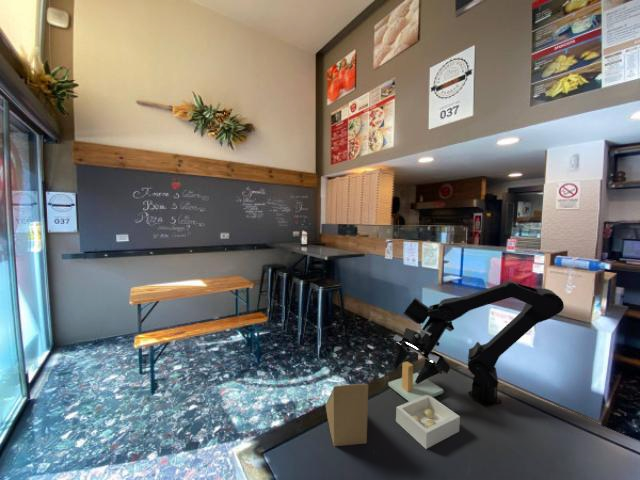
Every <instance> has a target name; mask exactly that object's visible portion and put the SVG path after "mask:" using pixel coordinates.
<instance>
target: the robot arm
mask: <svg viewBox="0 0 640 480" xmlns="http://www.w3.org/2000/svg"><path fill="white" fill-rule="evenodd" d="M509 298H514V299H516V300H518V301H521V302H523V303H525V304H524V306H523V308H522V310H521V311H520V312H519V313H518V314H517V315H516V316H515V317H514V318H513V319H512V320H511V321H509V323H507V324H506V325H505V326H504V327H503V328H502V329H501V330H500V331H499V332H498V333H497V334H496V335H494V336H493V338H491V339H490V340H489V341H488V342H486V343H484V344H481V343H480V342H479V341H477V342H476V343H475V345H474V346H473V347H471V348H468V355H467V368H468V371H469V372H470V374H472V375H474V376H473V377H472V382H471V390H469V391H468V392H467V394H468V395H469V396H471V397H472V398H473V399H475V400H476V401H477V402H478V403H480V404H481V405H483V406H484V407H489V406H493V405H497V404H502V403H503V401H502V399H501V398H499V397H498V388H499V387H498V386H499V378H498V372H497V367H495V366H496V365H497V362H498V360H499V358H500V357H502V355H503V354H504V353H505V352H506V351H508V350H509V349H510V348H511V347H512V346H513V345H514V344H515V343H517V342H518V341H519V340H520V339H521V338H522V337H523V336H525V334H527V333H528V332H529V331H530V330H531V329H532V328H534V327H535V326H536V325H537V324H539V323H542V322H545V321H549V320H550V319H551V318H554V317H555V316H557V315H558V314H560V313H561V312H562V311H563V310H564V308H565V306H564V301H563V299H562V298H561V296H559V295H558V294H557V293H555V292H554V291H553V290H550V289H549V288H536V287H532V286H529V285H525V284H521V283H517V282H515V281H513V280H507V281H504V282H502V283H500V284H497V285H494V286H491V287H489V288H486V289H484V290H483V289H482V290H480V291H477V292H474V293H471V294H467V295H466V296H456V297H449V298H444V299H442V300H440V302H439V303H435V304H432V305H429V306H428V305H426V304H424V303H422V302H421V301H420V300H419V299H417V298H416V297H414V298H413V300H412V302H411V303H409V304H408V306H407V307H406V309H405V311H404V312H403V316H406V317H407V318H408V319H410V320H411V321H412V322H414V323H415V324H417V325H423V324H424V323H425V324H424V326H422V329H421V328H420V327H419V328H418V329H417V330H414V329H410V328H408V327H405V330H404V331H403V335H402V334H400V333H396V334H394V336H393V338H392V340H393V343H394V345H395V348H396V350H395V356H394V361H393V365H392V368H393V369H397V368H398V367H399V366H400V365H402V363H404V361H405V359H407V357H408V356H409V354H410V353H409V352H411V351H412V352H414V353H416V354H417V355H419V356H421V357H422V358H424V365H423V367H422V368H421V369H420V371H419V373H418V374H419V375H418V376H417V378H416V381H415V382H416V383H417V384H419V383H421V382H422V381H424V380H426V379H428V380H429V378H431V377H433V376H435V375H438V374H440V375H442V374H443V373H444V374H446V375H447V374H448V373H449V371H450V369H451V366H450V363H449V362H448V361H447V359H446V358H445V357H444V356H443V355H440V354H438V353H437V352H435V351H433V350H434V349H435V347H439V346H440V342H439V340H440V339H441V338H442V336H443V334H444V332H445V331H446V330H447V331H448V332H452V331H454V330H455V327H454V325H453V321H455V320H458V319H459V318H461V317H462V316H464V315H465V314H467V313H469V312H470V311H472V310H475V309H479V308H481V307H482V308H483V307H485V306H488V305H492V304H494V303H497V302H500V301H504V300H507V299H509ZM426 320H427V321H426Z"/></svg>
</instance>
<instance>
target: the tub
mask: <svg viewBox="0 0 640 480" xmlns="http://www.w3.org/2000/svg"><path fill="white" fill-rule="evenodd" d="M395 410H396V411H395V416H396V417H395V422H396V423H397V424H398V425H399V426H400V427H402V428H403V429H404V430H405V431H406V432H407V433H408V434H409V435H410V436H411V437H412V438H414V440H415V441H417V442H418V443H419V444H420V445H421V446H422V447H423V448H425V450H427V449H430V448H431V447H433V446H435V445H437V444H439V443H440V442H442V441H444V440H445V439H447V438H449V437H451V436H453V435H455V434H457V433H460V423H461V419H460V418H461V415H459V414H457V413H456V412H454V411H453V410H451V409H449V407H447V406H445V405H444V404H443V403H441V402H440V401H439V400H437V399H436V398H435V397H431V396H430V395H428V394H427V395H425V396H422V397H420V398H417V399H415V400H412V401H410V402H409V401H407V402H405V403H403V404H400V405H398V406H396V409H395Z"/></svg>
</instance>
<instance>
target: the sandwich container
mask: <svg viewBox="0 0 640 480" xmlns="http://www.w3.org/2000/svg"><path fill="white" fill-rule="evenodd" d="M325 404H326V405H325V410H326V416H327V421H328V427H329V431H330V436H331V440H332V444H333V447H338V446H339V447H340V446H353V445H360V444H361V445H362V444H367V441H368V414H369V413H368V409H369V408H368V407H369V384H368V383H352V384H342V385H334V386H333V389H332V391H331V393H330V395H329V397H328V399H327V401H326V403H325Z"/></svg>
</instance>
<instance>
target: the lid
mask: <svg viewBox="0 0 640 480" xmlns="http://www.w3.org/2000/svg"><path fill="white" fill-rule="evenodd" d="M401 365H402V367H401V368H402V369H401V370H402V371H401V377H400V378H397V379H394V380H391V381H388V383H387V384H388V387H390V388H391V389H392V390H394V391H395V392H396V393H398V394H399V395H400V396H401V397H402V398H404V399H405V400H407V402H410V401H412V400H415V399H417V398H420V397H422V396H425V395H427V394H428V395H430V396H431V397H433V398H435V397H437V396H439V395H441V394H443V393H444V389H443V388H442V387H440V386H438V385H436V384H435V383H434V382H432V381H431V380H429V378H428V379H426V380H424V381H422V382H421V383H419V384H417V383H416V382H415V381H416V378H417V376H418V375H419V373H418V372H415V373H414V364H412V363H411V362H409V361H403V362H402V363H401Z"/></svg>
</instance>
